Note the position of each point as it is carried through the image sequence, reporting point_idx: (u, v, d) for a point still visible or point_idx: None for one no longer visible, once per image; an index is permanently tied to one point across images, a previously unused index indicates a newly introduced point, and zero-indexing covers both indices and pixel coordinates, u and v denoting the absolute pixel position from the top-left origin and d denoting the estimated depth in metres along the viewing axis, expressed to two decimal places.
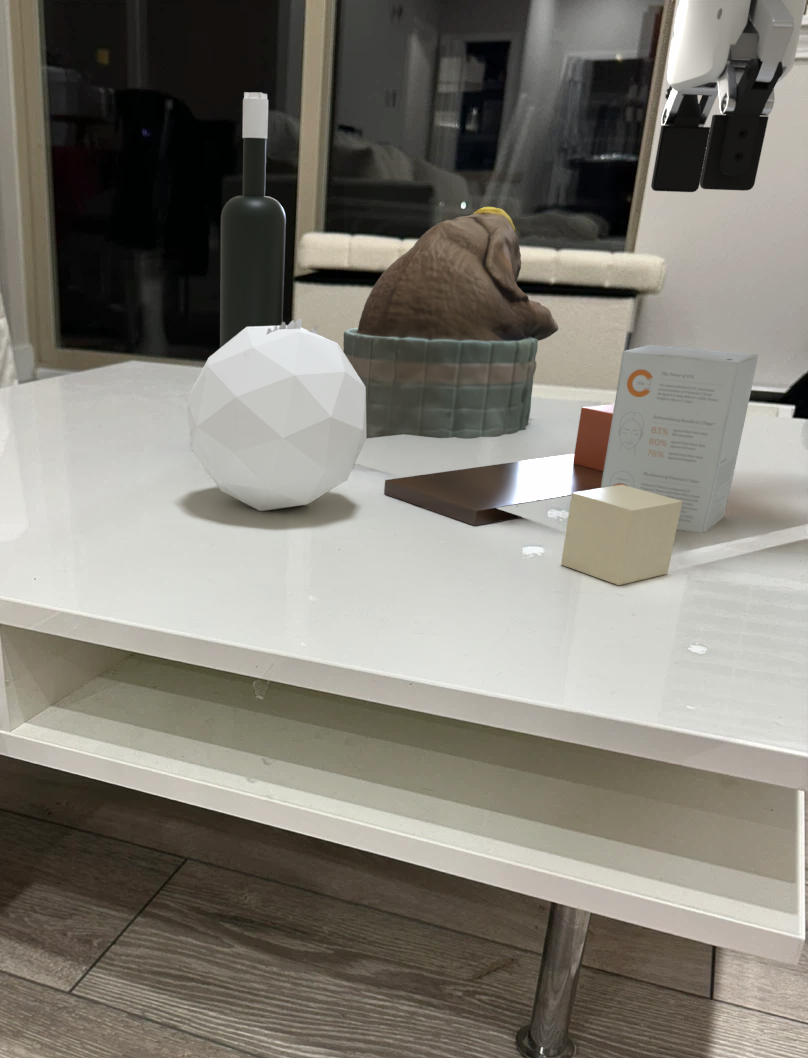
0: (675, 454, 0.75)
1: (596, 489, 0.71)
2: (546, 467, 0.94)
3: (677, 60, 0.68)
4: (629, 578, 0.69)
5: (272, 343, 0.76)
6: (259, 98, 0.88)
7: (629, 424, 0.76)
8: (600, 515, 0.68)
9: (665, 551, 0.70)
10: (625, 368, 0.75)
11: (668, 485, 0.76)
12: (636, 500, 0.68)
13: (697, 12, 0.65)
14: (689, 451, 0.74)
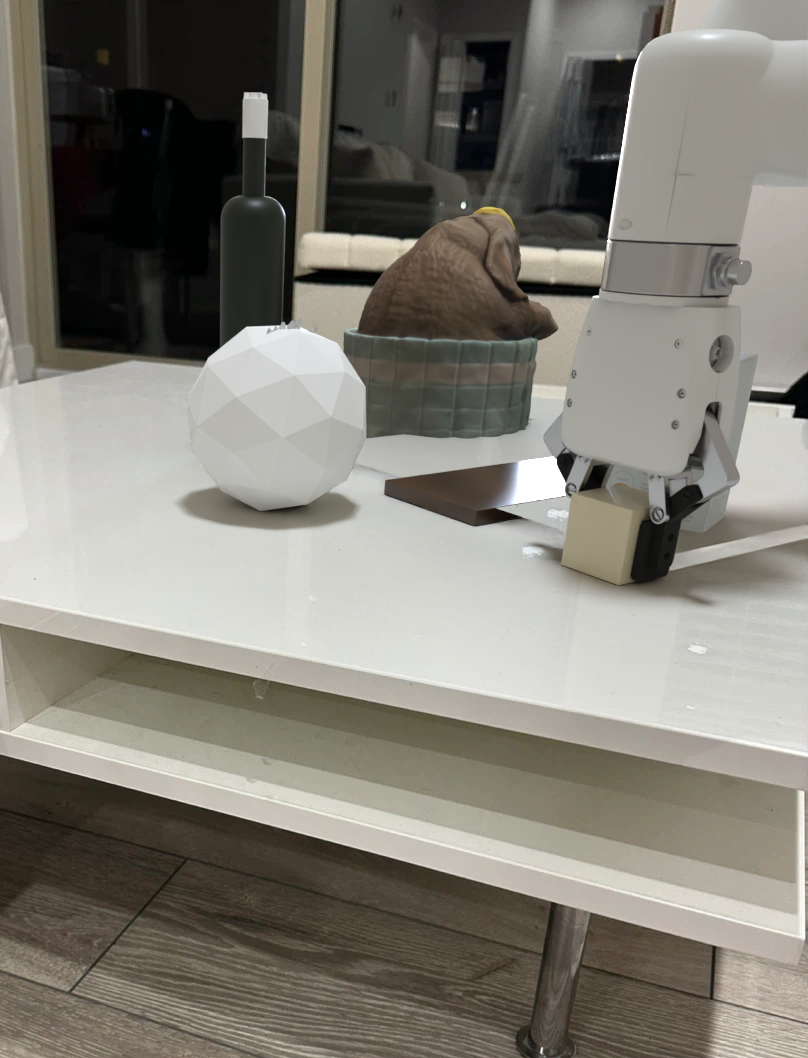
0: None
1: (596, 489, 0.71)
2: (546, 467, 0.94)
3: (587, 433, 0.68)
4: (629, 578, 0.69)
5: (272, 343, 0.76)
6: (259, 98, 0.88)
7: None
8: (600, 515, 0.68)
9: None
10: None
11: None
12: (636, 500, 0.68)
13: (629, 407, 0.65)
14: None
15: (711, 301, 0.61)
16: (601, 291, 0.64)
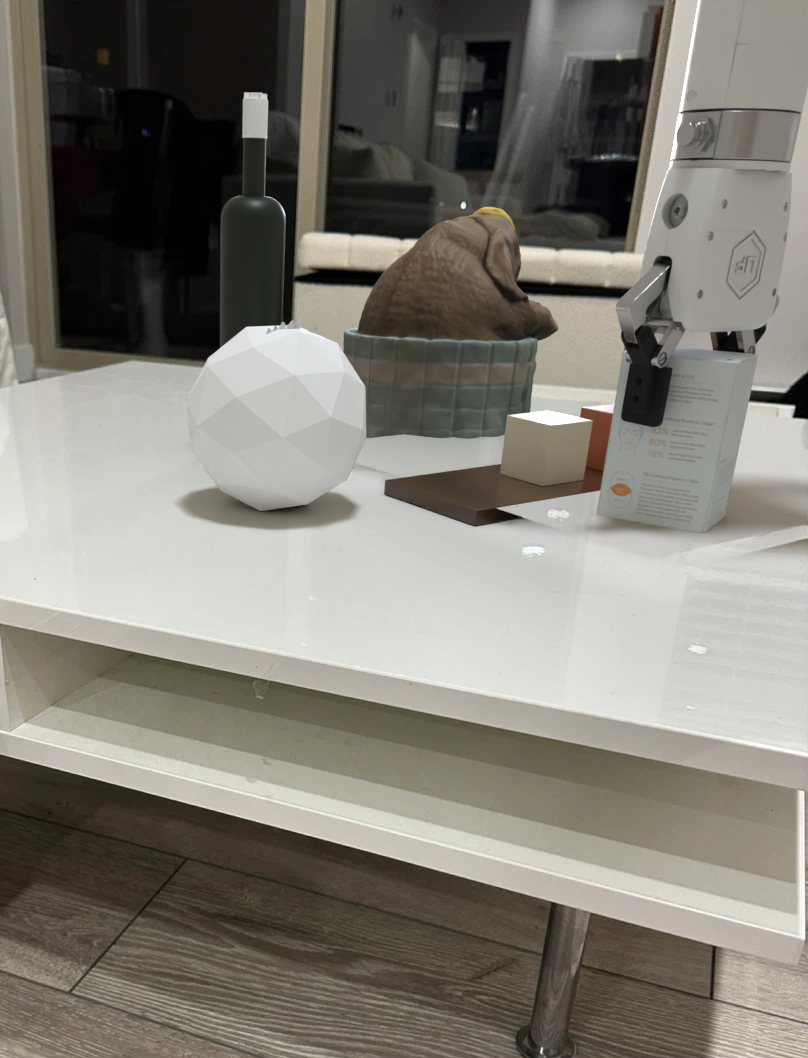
0: (675, 454, 0.75)
1: (527, 413, 0.90)
2: None
3: None
4: (551, 481, 0.88)
5: (272, 343, 0.76)
6: (259, 98, 0.88)
7: (629, 424, 0.76)
8: (528, 431, 0.87)
9: (580, 461, 0.89)
10: (625, 368, 0.75)
11: (668, 485, 0.76)
12: (556, 419, 0.87)
13: None
14: (689, 452, 0.74)
15: (687, 163, 0.68)
16: None
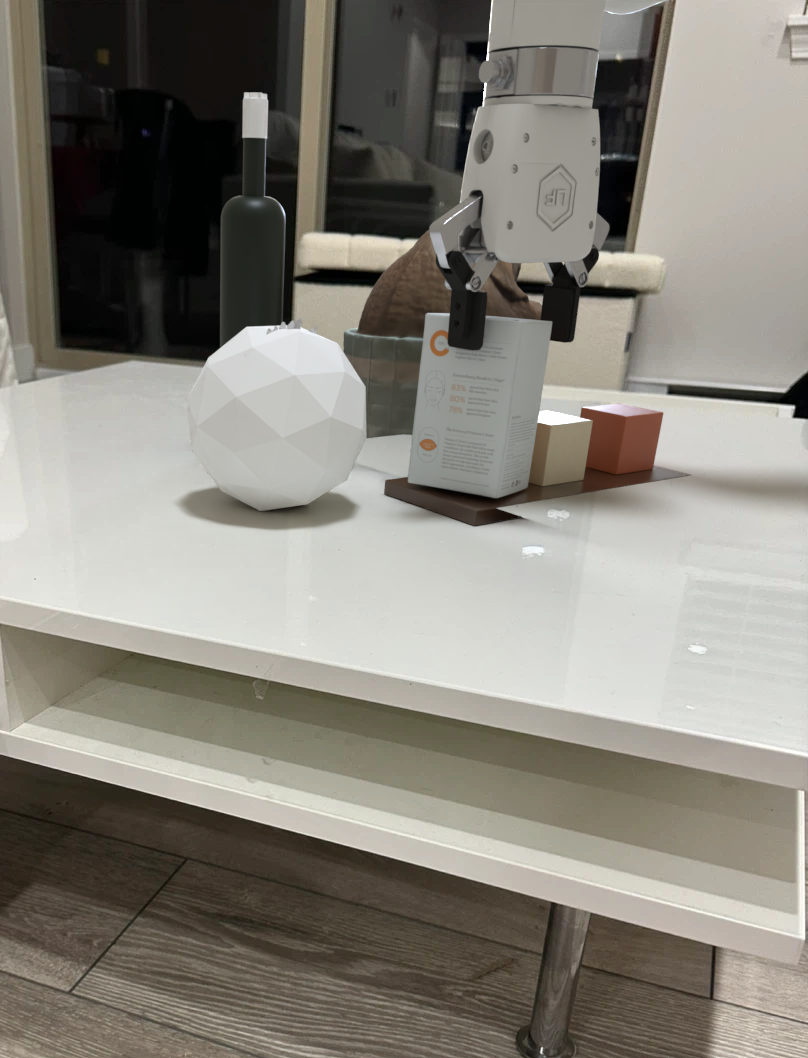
0: (472, 410, 0.80)
1: None
2: None
3: None
4: (551, 481, 0.88)
5: (272, 343, 0.76)
6: (259, 98, 0.88)
7: (433, 382, 0.81)
8: None
9: (580, 461, 0.89)
10: (428, 329, 0.80)
11: (468, 439, 0.81)
12: (556, 419, 0.87)
13: None
14: (484, 407, 0.80)
15: (493, 101, 0.72)
16: None
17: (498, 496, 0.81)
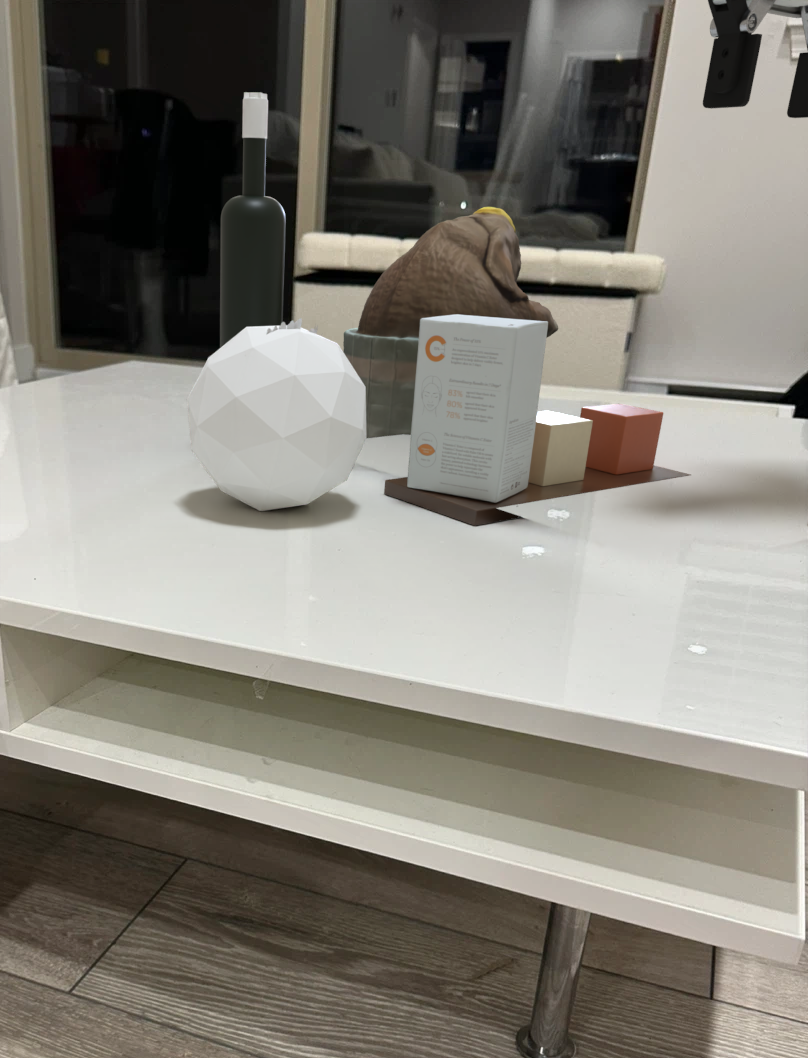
0: (469, 415, 0.80)
1: None
2: None
3: None
4: (551, 481, 0.88)
5: (272, 343, 0.76)
6: (259, 98, 0.88)
7: (429, 387, 0.81)
8: None
9: (580, 461, 0.89)
10: (423, 334, 0.80)
11: (466, 444, 0.81)
12: (556, 419, 0.87)
13: None
14: (481, 412, 0.80)
15: None
16: None
17: (497, 500, 0.82)
